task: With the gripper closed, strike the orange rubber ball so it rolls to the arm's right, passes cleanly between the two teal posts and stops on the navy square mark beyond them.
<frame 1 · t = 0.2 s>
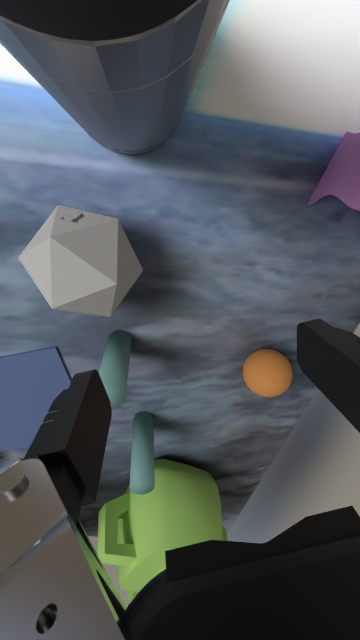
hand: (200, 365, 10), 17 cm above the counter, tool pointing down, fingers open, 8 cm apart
ball: (266, 372, 30), on the counter
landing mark: (19, 404, 31), on the counter
post 2: (120, 340, 29), on the counter
die: (94, 254, 25), on the counter
teapot: (158, 489, 42), on the counter
toy chair: (355, 187, 25), on the counter
post 1: (143, 418, 34), on the counter
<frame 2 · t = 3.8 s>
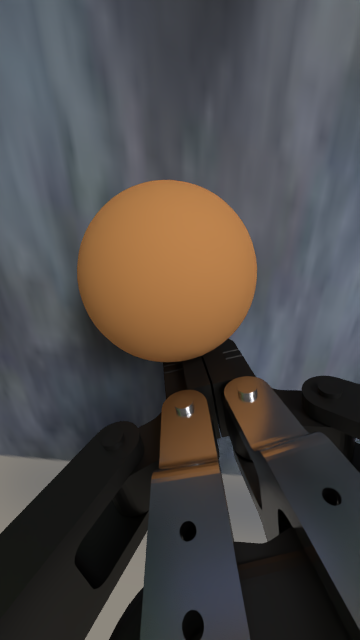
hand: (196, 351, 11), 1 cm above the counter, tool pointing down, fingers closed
ball: (168, 276, 8), on the counter
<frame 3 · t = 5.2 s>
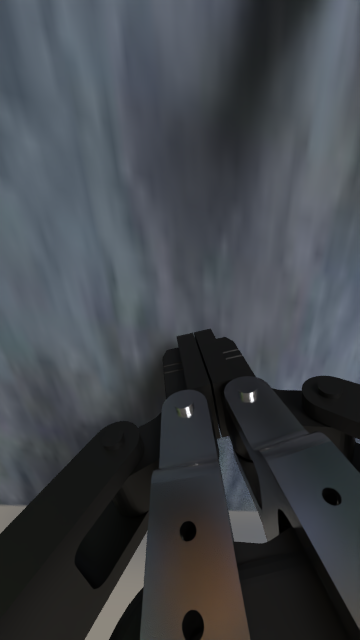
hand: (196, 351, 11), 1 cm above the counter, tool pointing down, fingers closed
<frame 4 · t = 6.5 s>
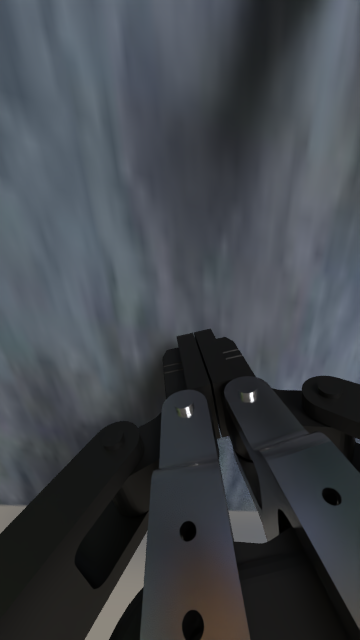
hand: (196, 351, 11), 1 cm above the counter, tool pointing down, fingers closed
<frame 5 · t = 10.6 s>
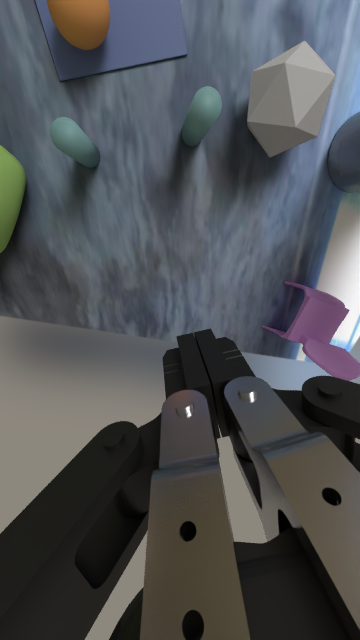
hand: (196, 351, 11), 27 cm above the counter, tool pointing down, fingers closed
ball: (79, 6, 23), on the counter
post 2: (192, 133, 30), on the counter
die: (269, 117, 31), on the counter
toy chair: (288, 307, 42), on the counter
post 1: (89, 155, 30), on the counter
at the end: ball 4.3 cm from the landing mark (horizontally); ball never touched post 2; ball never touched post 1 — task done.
